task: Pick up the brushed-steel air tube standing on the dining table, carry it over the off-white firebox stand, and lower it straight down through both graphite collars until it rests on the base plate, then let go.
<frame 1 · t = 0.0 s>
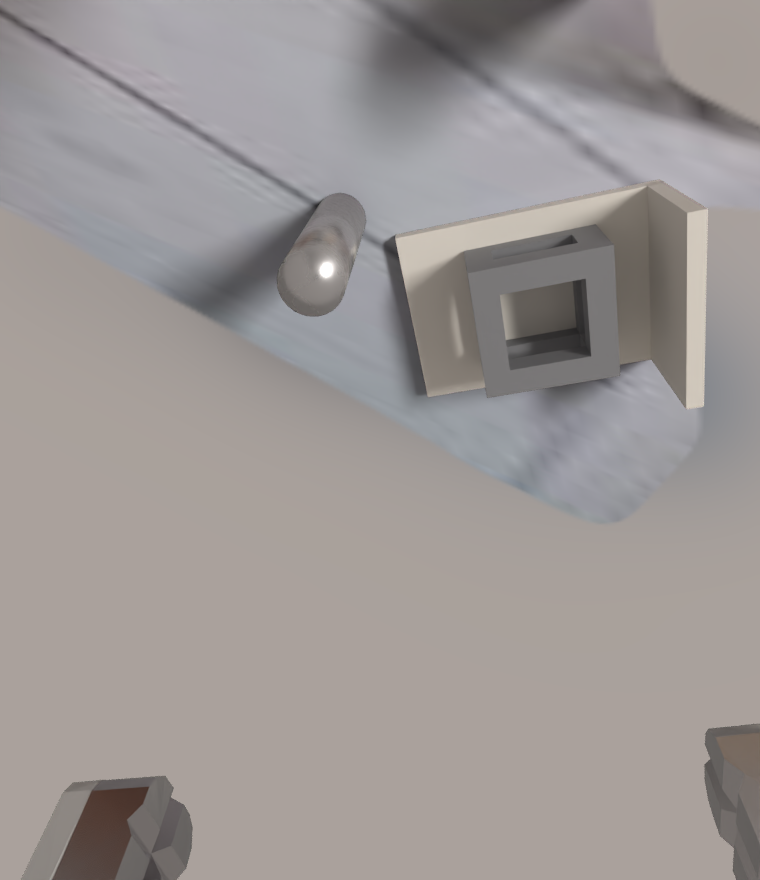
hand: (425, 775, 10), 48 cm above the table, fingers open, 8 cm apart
air tube: (340, 219, 53), on the table
firebox stand: (533, 294, 55), on the table
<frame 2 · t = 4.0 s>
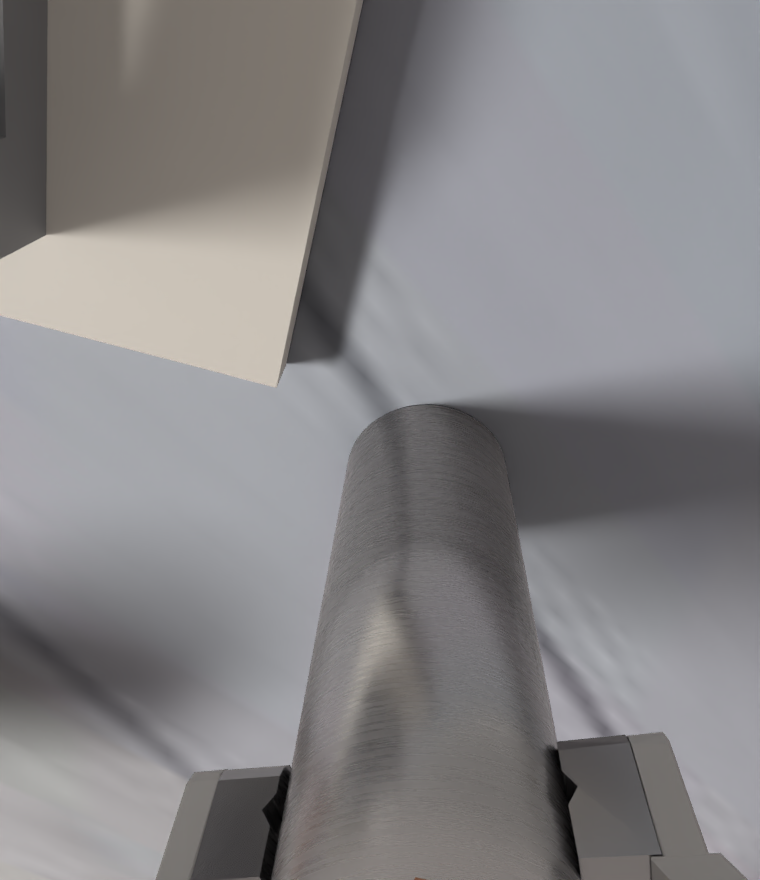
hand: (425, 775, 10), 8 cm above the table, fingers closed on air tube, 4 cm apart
air tube: (425, 474, 17), on the table, touching gripper
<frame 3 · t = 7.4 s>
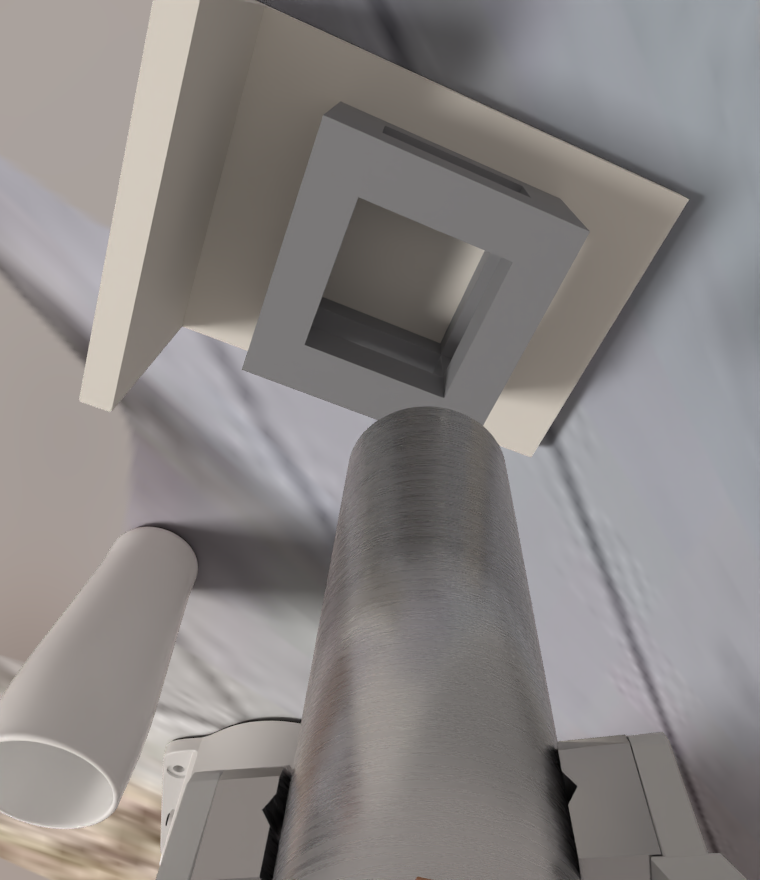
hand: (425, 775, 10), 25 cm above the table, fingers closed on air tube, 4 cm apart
drinking glass: (158, 554, 42), on the table
air tube: (426, 476, 17), point 17 cm above the table, touching gripper
firebox stand: (407, 254, 32), on the table
when the fingers open (10 cm above the table, at t = 11.1 s): air tube stays where it is, resting on firebox stand.
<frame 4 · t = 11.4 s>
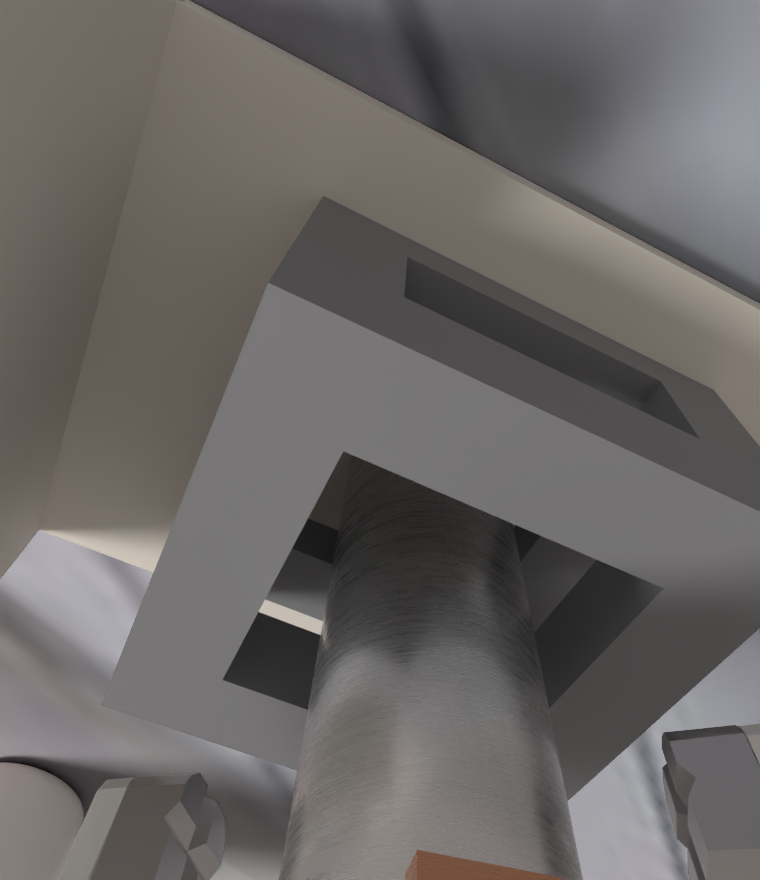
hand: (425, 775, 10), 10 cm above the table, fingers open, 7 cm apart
drinking glass: (28, 789, 29), on the table
air tube: (424, 480, 18), point 1 cm above the table, touching firebox stand
firebox stand: (426, 442, 19), on the table
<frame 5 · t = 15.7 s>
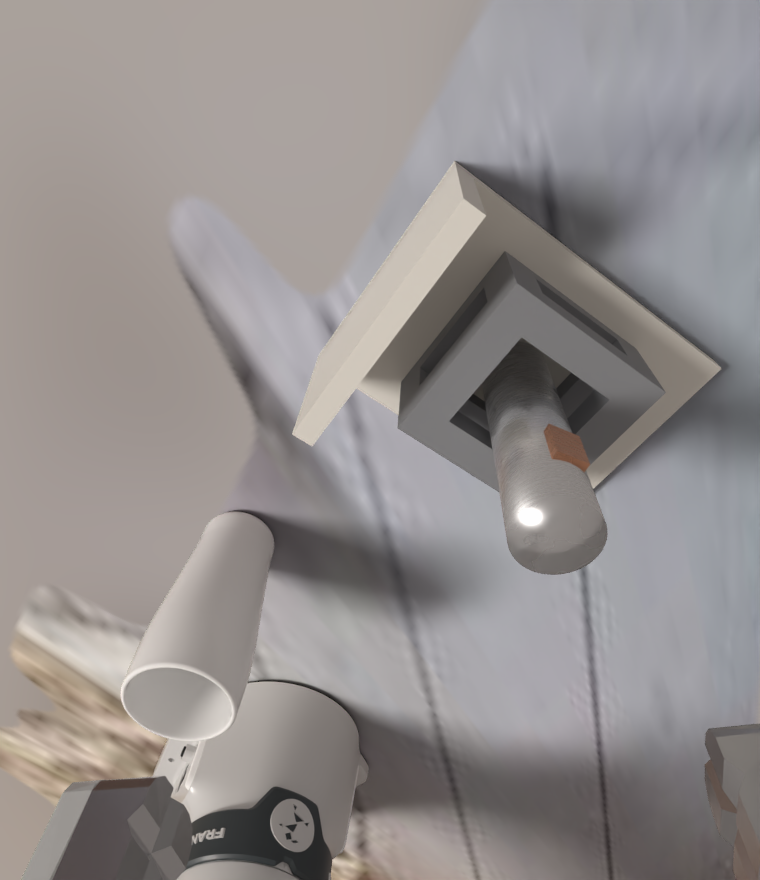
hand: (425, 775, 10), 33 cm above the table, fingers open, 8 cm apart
drinking glass: (241, 534, 51), on the table
air tube: (513, 371, 41), point 1 cm above the table, touching firebox stand
firebox stand: (513, 357, 42), on the table
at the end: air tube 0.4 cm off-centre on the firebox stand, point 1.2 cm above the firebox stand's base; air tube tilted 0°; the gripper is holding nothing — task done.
